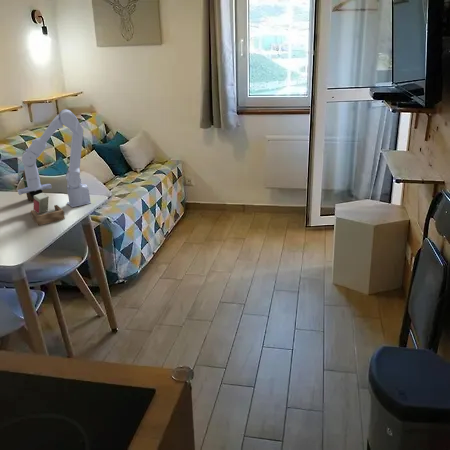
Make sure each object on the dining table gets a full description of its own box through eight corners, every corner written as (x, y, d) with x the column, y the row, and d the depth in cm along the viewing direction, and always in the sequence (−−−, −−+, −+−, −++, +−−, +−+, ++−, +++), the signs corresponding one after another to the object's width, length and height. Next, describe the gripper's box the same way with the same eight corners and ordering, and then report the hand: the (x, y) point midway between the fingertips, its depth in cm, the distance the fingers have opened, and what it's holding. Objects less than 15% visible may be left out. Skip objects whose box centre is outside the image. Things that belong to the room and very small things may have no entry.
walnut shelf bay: (58, 213, 220) (56, 204, 219) (64, 218, 213) (63, 210, 211) (32, 219, 214) (30, 210, 213) (38, 225, 207) (36, 216, 205)
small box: (42, 206, 226) (42, 192, 221) (48, 210, 224) (48, 196, 220) (32, 209, 222) (33, 195, 218) (39, 214, 220) (39, 199, 216)
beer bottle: (24, 200, 240) (14, 152, 231) (37, 195, 246) (28, 149, 237) (33, 202, 236) (23, 154, 227) (47, 197, 242) (38, 151, 233)
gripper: (46, 173, 226) (51, 200, 232) (14, 179, 219) (20, 207, 224) (50, 176, 221) (55, 204, 226) (17, 182, 214) (23, 211, 219)
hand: (38, 205), depth 225 cm, fingers closed
